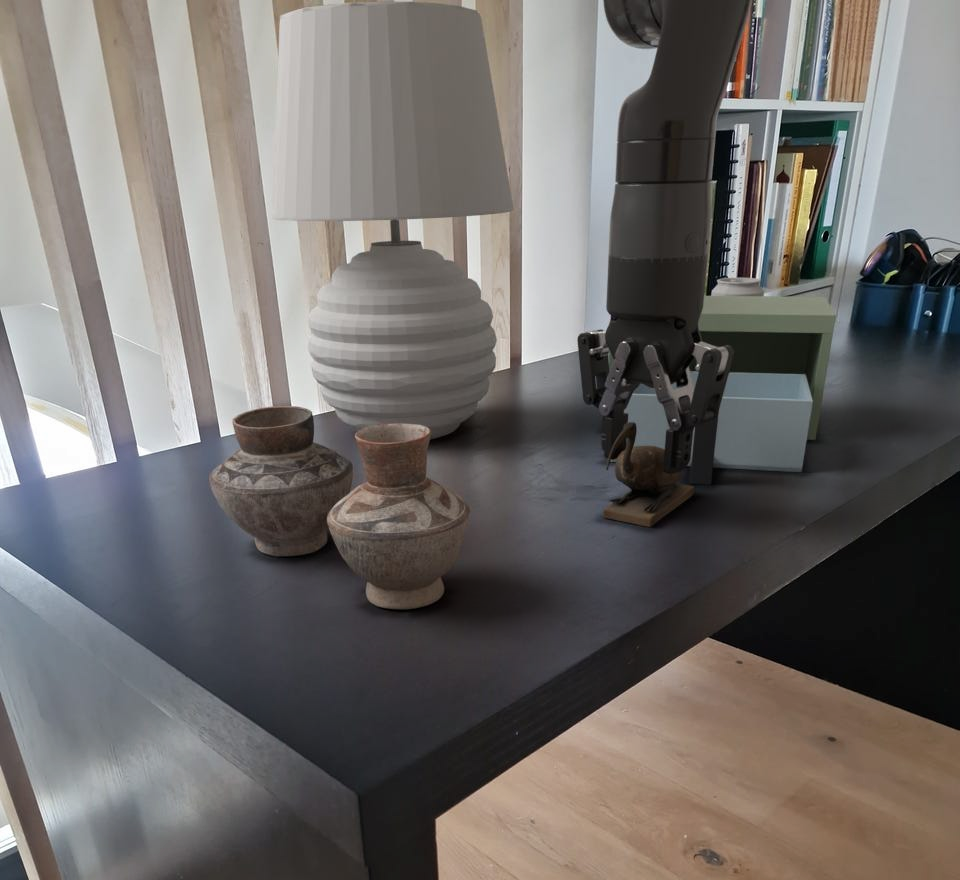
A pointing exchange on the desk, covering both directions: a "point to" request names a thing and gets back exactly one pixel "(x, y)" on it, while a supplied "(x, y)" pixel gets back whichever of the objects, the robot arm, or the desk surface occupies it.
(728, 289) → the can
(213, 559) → the desk surface
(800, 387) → the bin
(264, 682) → the desk surface
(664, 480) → the figurine
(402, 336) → the table lamp
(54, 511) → the desk surface
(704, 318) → the cabinet
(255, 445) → the pottery
